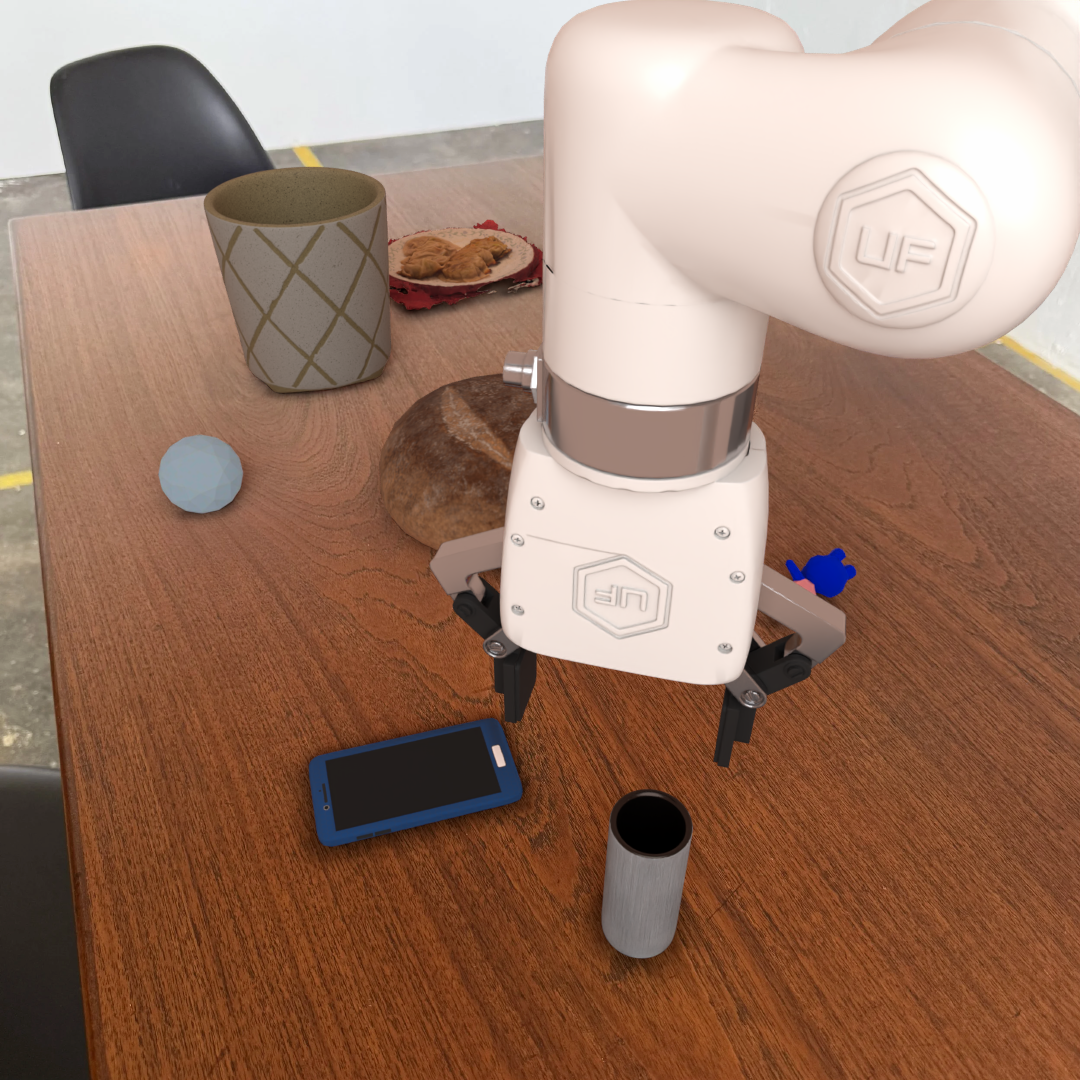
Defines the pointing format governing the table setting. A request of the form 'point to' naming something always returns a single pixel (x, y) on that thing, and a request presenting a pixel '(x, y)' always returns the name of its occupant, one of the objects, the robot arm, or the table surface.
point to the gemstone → (200, 473)
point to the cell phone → (412, 781)
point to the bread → (453, 459)
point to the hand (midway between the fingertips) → (620, 721)
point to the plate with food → (459, 264)
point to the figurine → (823, 573)
